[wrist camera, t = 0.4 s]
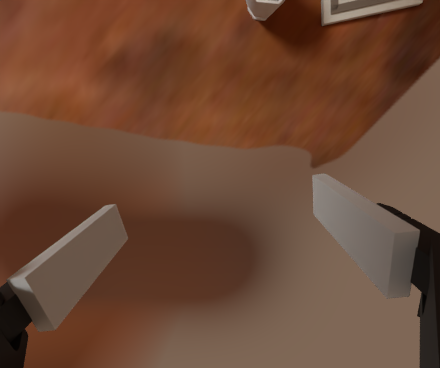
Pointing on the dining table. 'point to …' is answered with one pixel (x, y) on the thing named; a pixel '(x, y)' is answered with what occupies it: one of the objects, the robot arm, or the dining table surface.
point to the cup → (263, 8)
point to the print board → (359, 8)
